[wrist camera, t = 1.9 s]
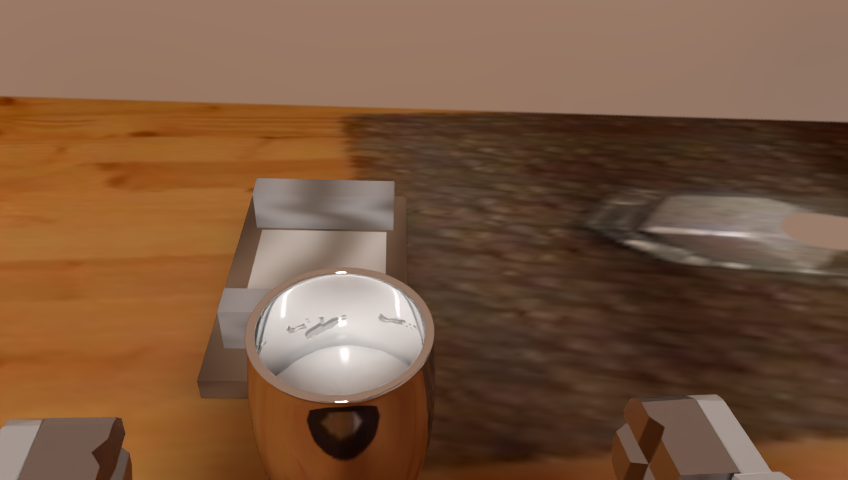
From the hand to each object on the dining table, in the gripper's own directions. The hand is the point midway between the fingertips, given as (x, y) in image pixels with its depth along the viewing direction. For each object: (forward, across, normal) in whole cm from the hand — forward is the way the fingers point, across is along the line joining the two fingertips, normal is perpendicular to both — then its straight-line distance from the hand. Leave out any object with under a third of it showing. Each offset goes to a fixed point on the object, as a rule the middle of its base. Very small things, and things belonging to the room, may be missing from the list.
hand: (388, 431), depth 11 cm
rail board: (+30, 0, +21) cm, 37 cm away
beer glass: (+12, -1, +22) cm, 25 cm away
